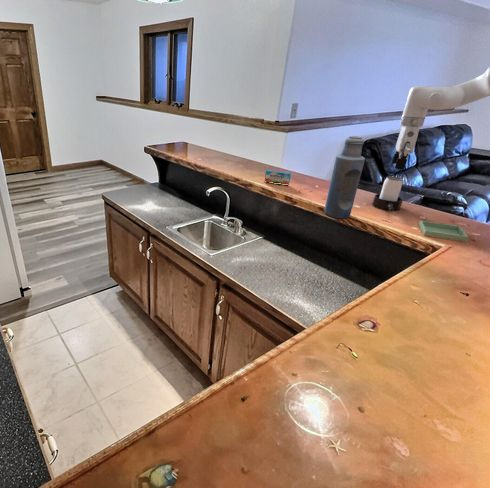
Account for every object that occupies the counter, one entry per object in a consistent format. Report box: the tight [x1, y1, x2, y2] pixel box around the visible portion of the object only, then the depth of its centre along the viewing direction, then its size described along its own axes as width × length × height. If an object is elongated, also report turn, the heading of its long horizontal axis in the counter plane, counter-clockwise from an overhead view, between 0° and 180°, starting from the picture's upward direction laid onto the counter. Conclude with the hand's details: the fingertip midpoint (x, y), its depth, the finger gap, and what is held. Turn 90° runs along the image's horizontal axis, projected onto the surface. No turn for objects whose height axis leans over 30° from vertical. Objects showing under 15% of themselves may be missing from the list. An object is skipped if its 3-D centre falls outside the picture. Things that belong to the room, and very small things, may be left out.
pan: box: [371, 193, 404, 212], centre depth 143 cm, size 10×19×4 cm, turn 156°
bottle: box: [323, 135, 366, 219], centre depth 132 cm, size 10×10×30 cm
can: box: [379, 176, 403, 201], centre depth 145 cm, size 6×6×12 cm
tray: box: [418, 220, 469, 243], centre depth 123 cm, size 12×10×2 cm
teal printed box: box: [264, 169, 292, 186], centre depth 174 cm, size 12×2×6 cm, turn 60°
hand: (397, 166), depth 140 cm, fingers open, 9 cm apart
